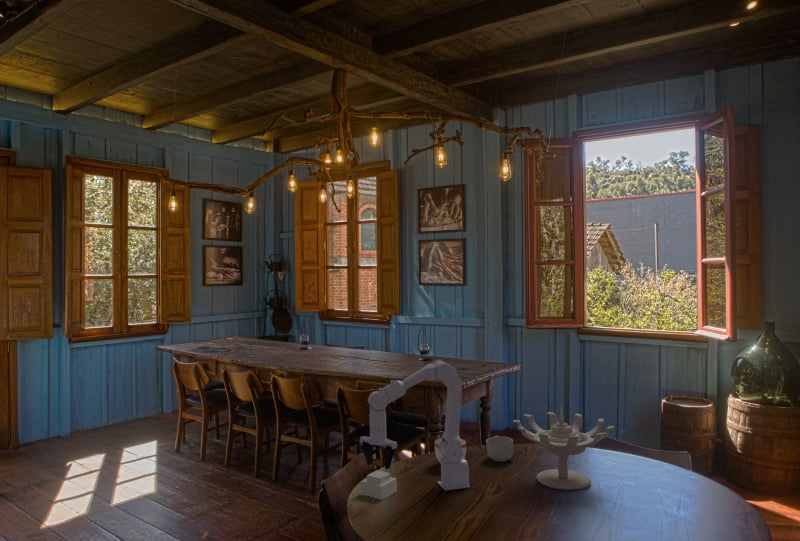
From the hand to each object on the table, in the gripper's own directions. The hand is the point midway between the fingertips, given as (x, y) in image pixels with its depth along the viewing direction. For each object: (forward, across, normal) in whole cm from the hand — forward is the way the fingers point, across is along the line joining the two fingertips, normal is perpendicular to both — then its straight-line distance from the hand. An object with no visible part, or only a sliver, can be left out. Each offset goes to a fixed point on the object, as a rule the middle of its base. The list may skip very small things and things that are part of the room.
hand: (378, 466), depth 190 cm
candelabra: (+10, +51, +42) cm, 67 cm away
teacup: (+10, +21, +56) cm, 60 cm away
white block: (+9, 0, 0) cm, 9 cm away
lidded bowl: (+9, +7, +38) cm, 40 cm away
